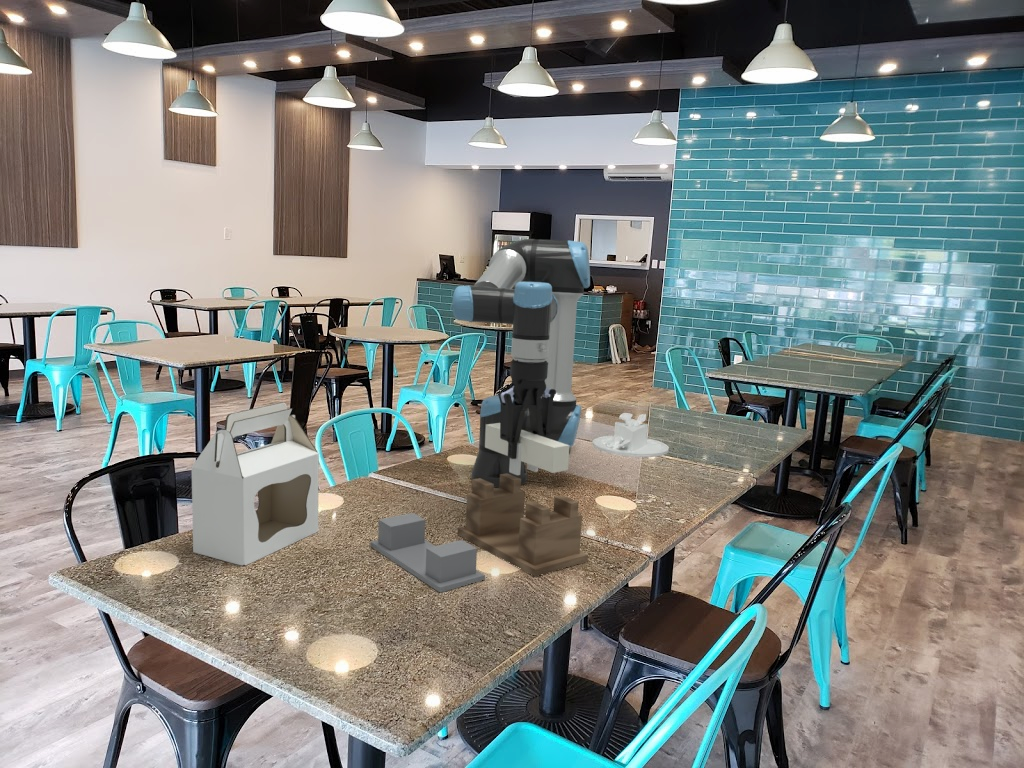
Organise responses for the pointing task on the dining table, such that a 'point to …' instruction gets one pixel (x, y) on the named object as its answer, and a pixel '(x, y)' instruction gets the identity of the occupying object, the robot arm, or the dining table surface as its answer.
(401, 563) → the stand
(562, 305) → the robot arm
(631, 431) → the dish
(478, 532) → the notched wooden cradle
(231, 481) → the gable box
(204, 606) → the dining table surface
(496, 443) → the white rectangular bar
